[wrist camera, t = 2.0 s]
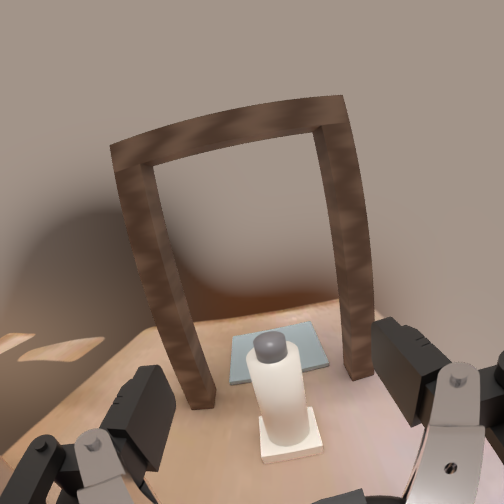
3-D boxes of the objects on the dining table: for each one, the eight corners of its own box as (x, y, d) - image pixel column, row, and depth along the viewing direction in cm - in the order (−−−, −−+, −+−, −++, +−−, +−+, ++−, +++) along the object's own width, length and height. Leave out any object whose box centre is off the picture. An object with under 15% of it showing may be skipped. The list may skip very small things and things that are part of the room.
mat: (230, 385, 36) (229, 382, 36) (233, 339, 49) (232, 336, 49) (329, 365, 36) (328, 362, 36) (310, 323, 48) (310, 321, 48)
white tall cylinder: (263, 464, 22) (230, 367, 19) (261, 424, 28) (233, 328, 25) (323, 452, 22) (313, 351, 19) (312, 414, 28) (299, 315, 25)
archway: (191, 409, 32) (109, 145, 24) (196, 391, 36) (124, 149, 28) (373, 374, 31) (342, 94, 24) (363, 358, 35) (331, 104, 28)
